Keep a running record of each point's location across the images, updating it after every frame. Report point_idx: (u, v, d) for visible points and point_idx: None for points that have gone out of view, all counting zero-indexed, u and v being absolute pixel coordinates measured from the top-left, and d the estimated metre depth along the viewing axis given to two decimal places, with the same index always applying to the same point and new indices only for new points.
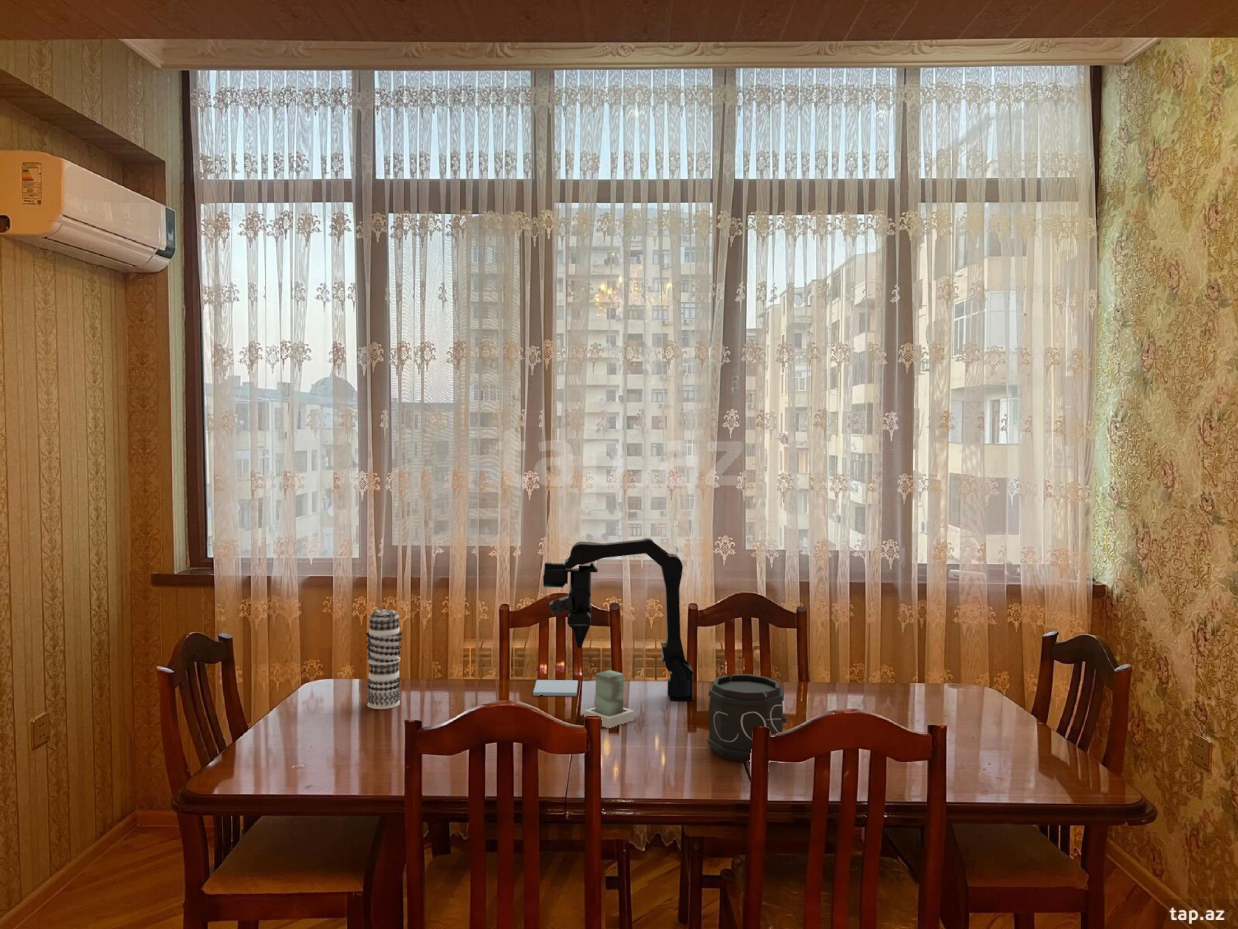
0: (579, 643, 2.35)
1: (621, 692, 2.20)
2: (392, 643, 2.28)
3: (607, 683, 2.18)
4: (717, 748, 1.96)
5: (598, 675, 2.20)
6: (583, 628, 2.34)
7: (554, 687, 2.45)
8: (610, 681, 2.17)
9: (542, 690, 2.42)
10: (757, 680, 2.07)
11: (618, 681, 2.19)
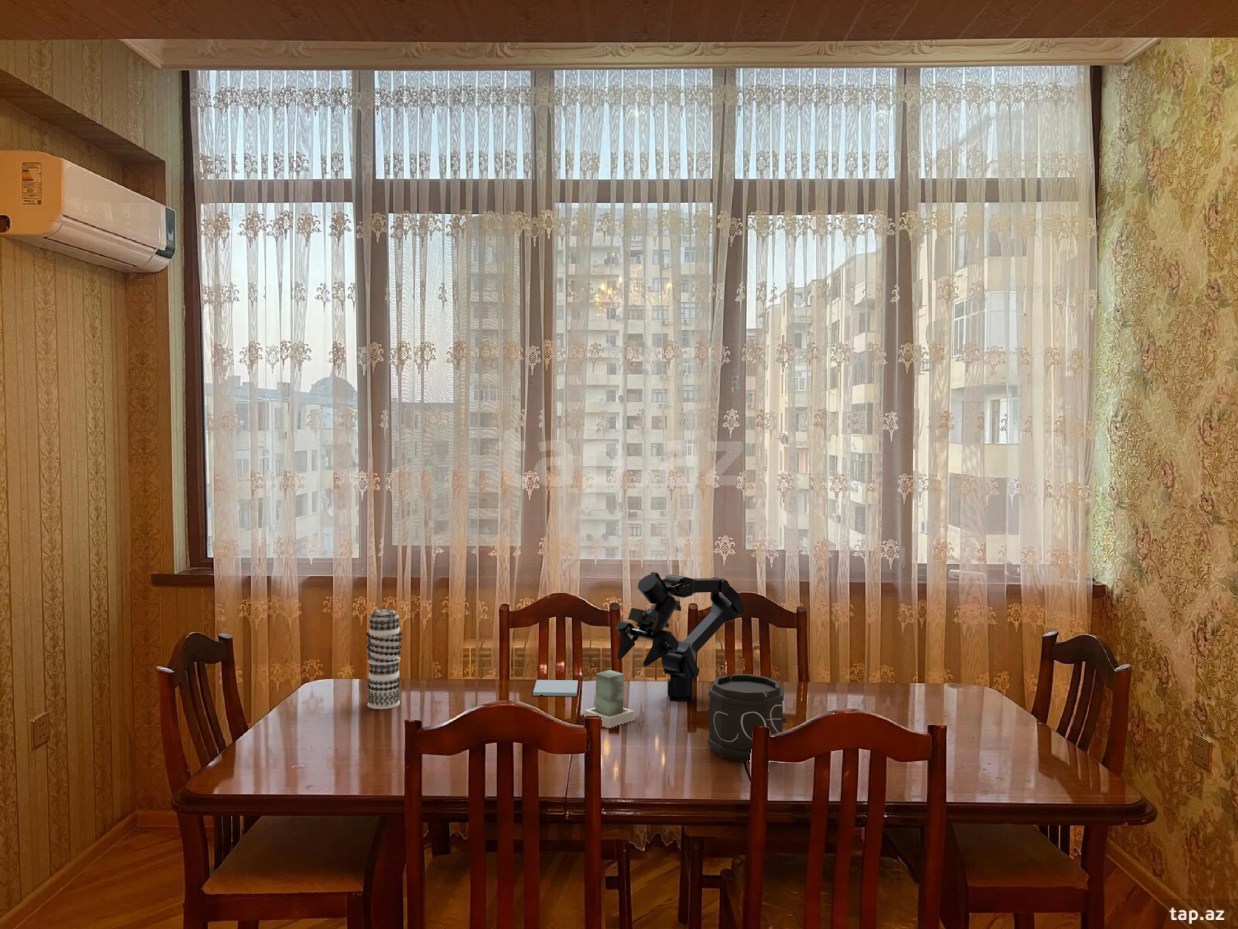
0: (648, 662, 2.24)
1: (621, 692, 2.20)
2: (392, 643, 2.28)
3: (607, 683, 2.18)
4: (717, 748, 1.96)
5: (598, 675, 2.20)
6: (661, 651, 2.25)
7: (554, 687, 2.45)
8: (610, 681, 2.17)
9: (542, 690, 2.42)
10: (757, 680, 2.07)
11: (618, 681, 2.19)
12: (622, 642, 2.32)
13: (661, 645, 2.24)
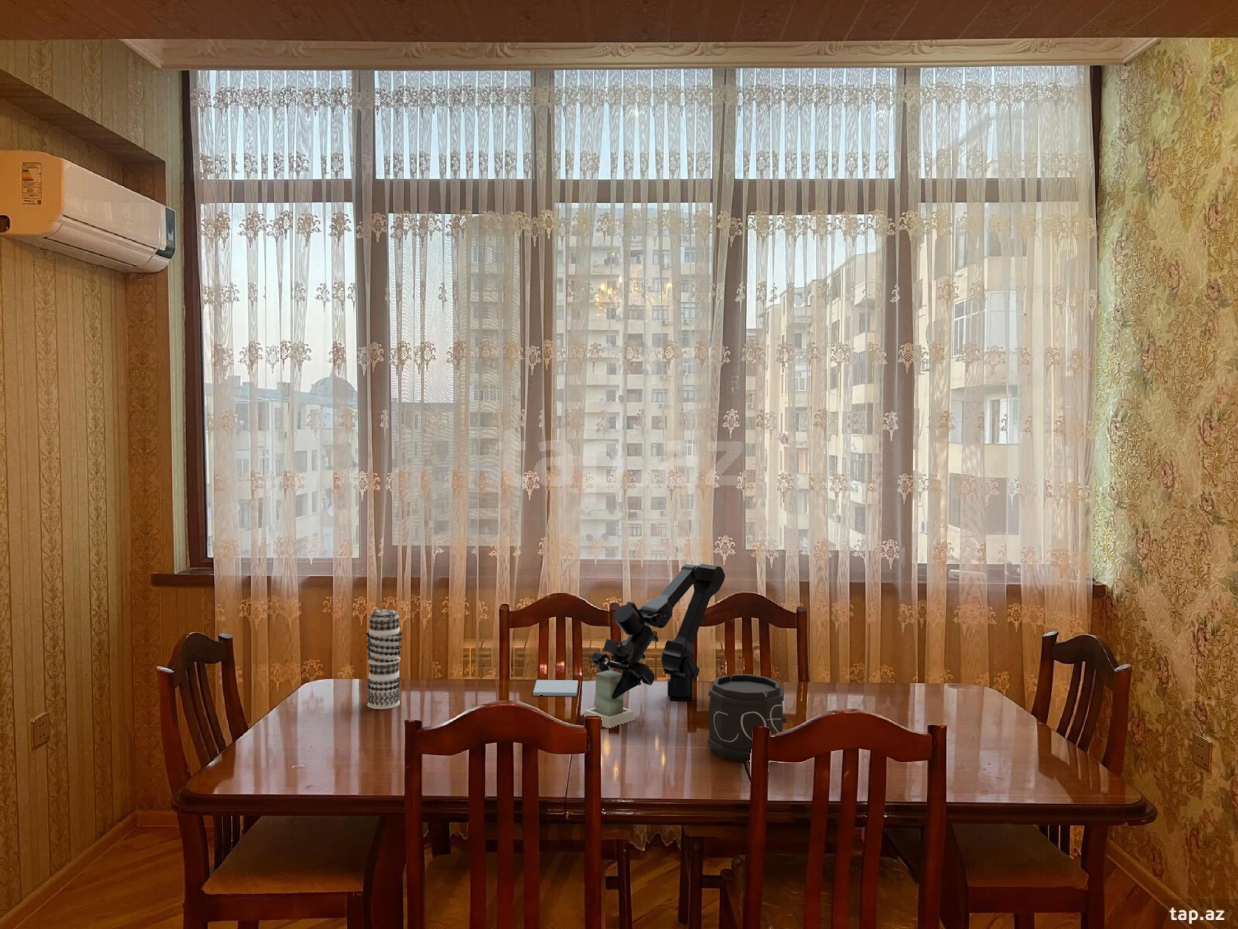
0: (617, 694, 2.18)
1: None
2: (392, 643, 2.28)
3: (607, 683, 2.18)
4: (717, 748, 1.96)
5: (598, 675, 2.20)
6: (630, 683, 2.20)
7: (554, 687, 2.45)
8: (610, 681, 2.17)
9: (542, 690, 2.42)
10: (757, 680, 2.07)
11: (618, 681, 2.19)
12: None
13: (631, 677, 2.19)
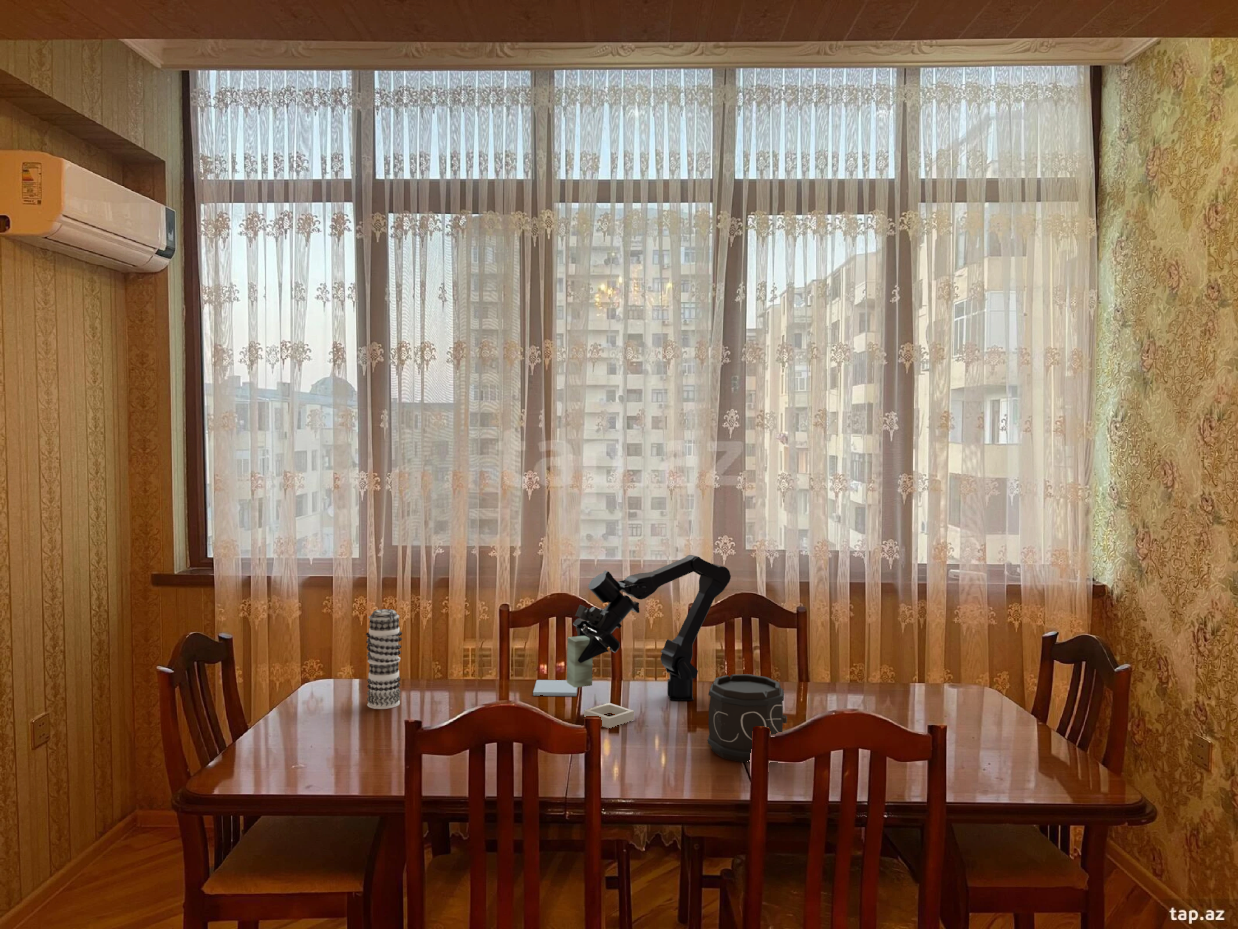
0: (583, 658, 2.24)
1: None
2: (392, 643, 2.28)
3: (574, 647, 2.24)
4: (717, 748, 1.96)
5: (569, 639, 2.27)
6: (598, 649, 2.25)
7: (554, 687, 2.45)
8: (576, 645, 2.24)
9: (542, 690, 2.42)
10: (757, 680, 2.07)
11: (586, 646, 2.25)
12: None
13: (597, 643, 2.24)
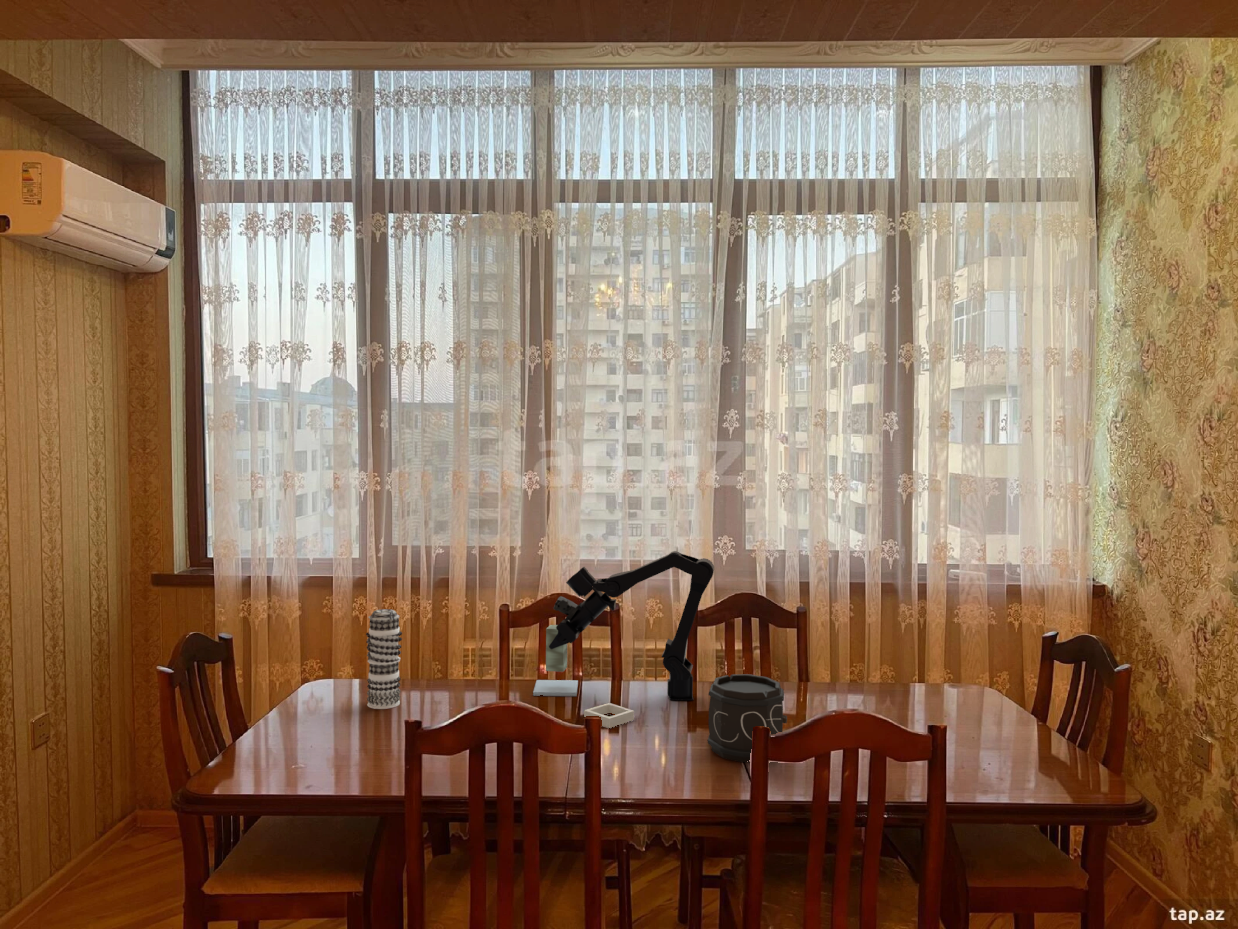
0: (553, 645, 2.43)
1: None
2: (392, 643, 2.28)
3: None
4: (717, 748, 1.96)
5: None
6: (565, 638, 2.42)
7: (554, 687, 2.45)
8: (547, 632, 2.44)
9: (542, 690, 2.42)
10: (757, 680, 2.07)
11: None
12: None
13: None
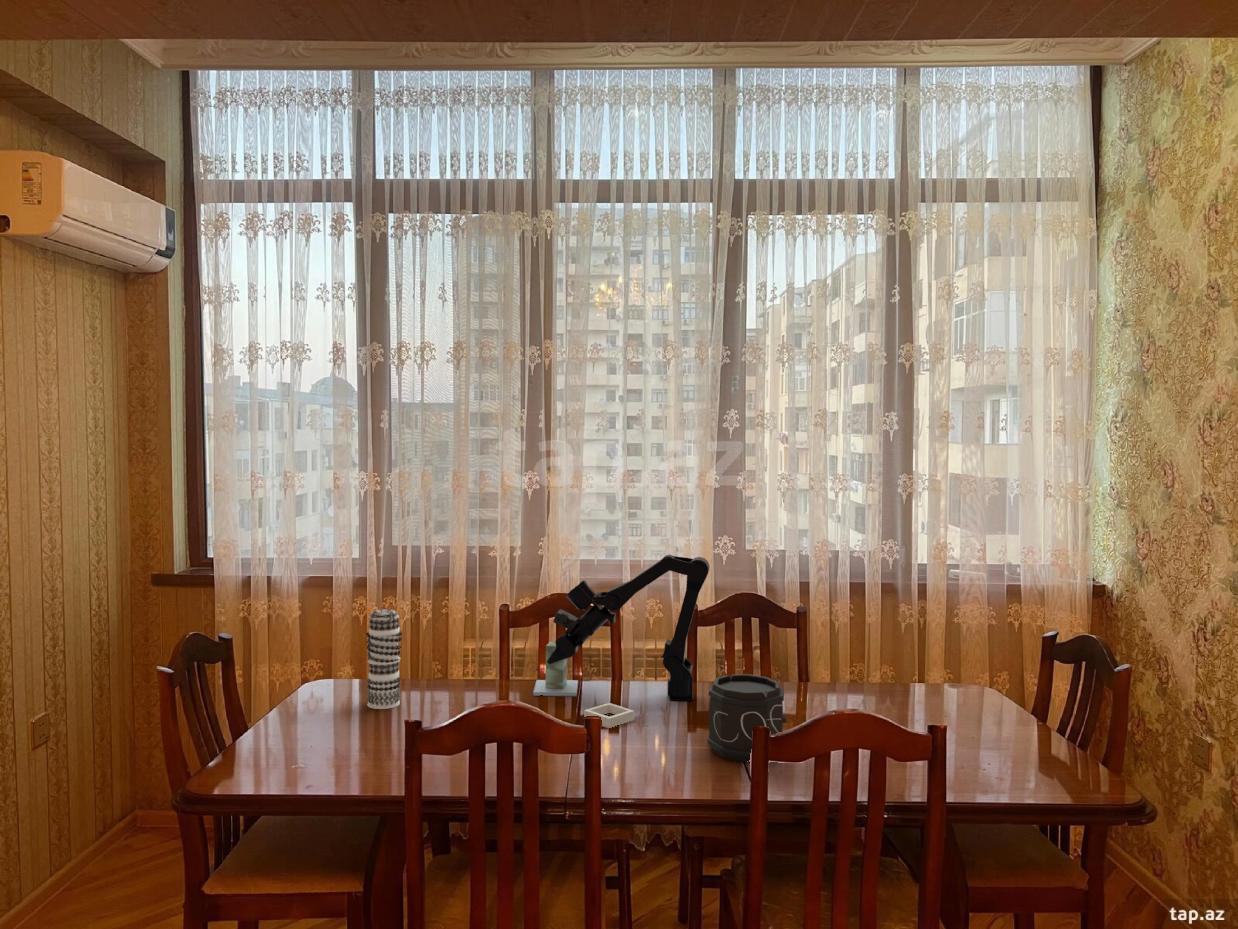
0: (551, 660, 2.41)
1: (560, 663, 2.44)
2: (392, 643, 2.28)
3: None
4: (717, 748, 1.96)
5: None
6: (563, 653, 2.40)
7: None
8: (547, 649, 2.44)
9: (542, 690, 2.42)
10: (757, 680, 2.07)
11: None
12: None
13: None
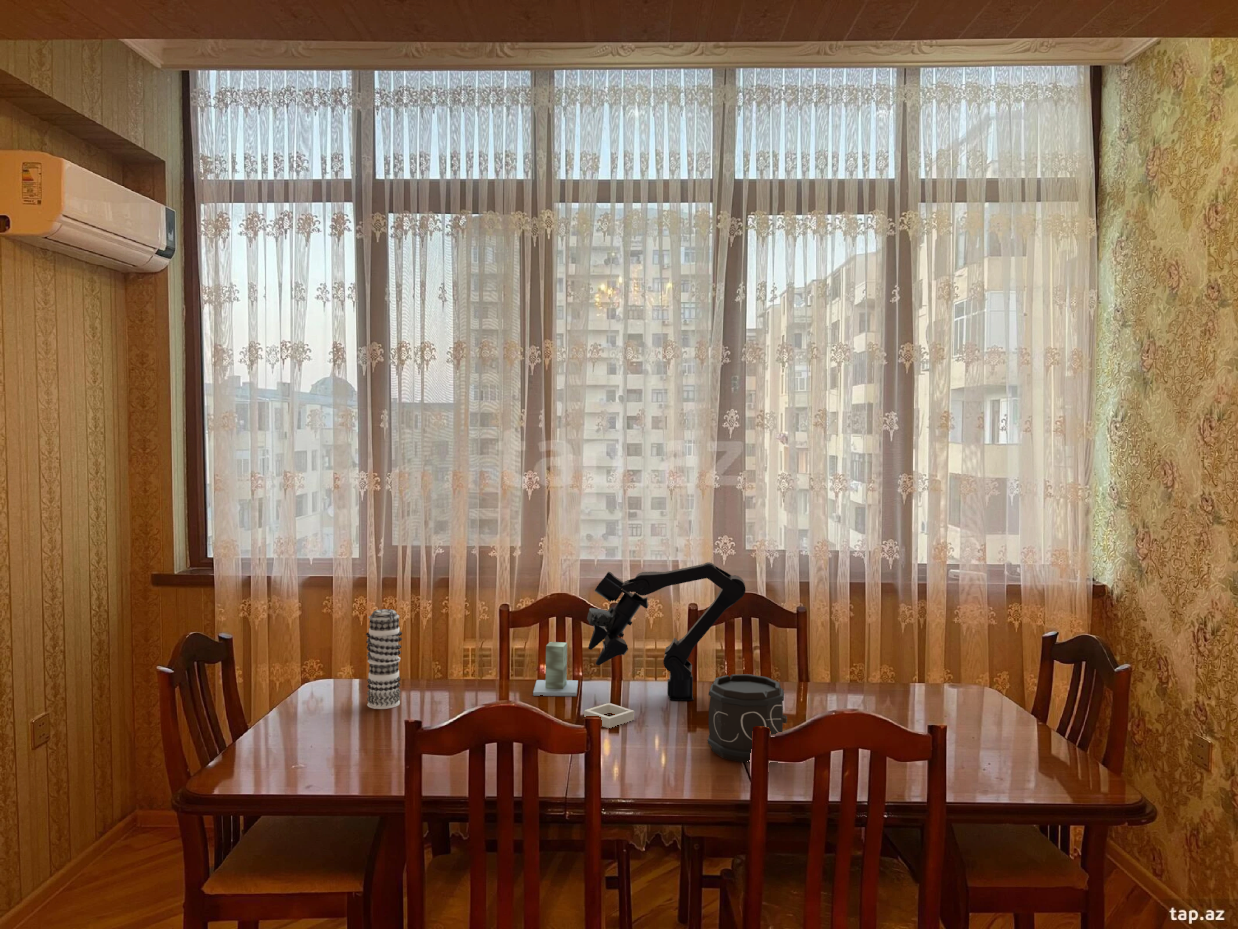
0: (600, 661, 2.39)
1: (560, 663, 2.44)
2: (392, 643, 2.28)
3: None
4: (717, 748, 1.96)
5: None
6: (612, 652, 2.38)
7: None
8: (547, 649, 2.44)
9: (542, 690, 2.42)
10: (757, 680, 2.07)
11: (557, 652, 2.44)
12: (593, 634, 2.48)
13: None
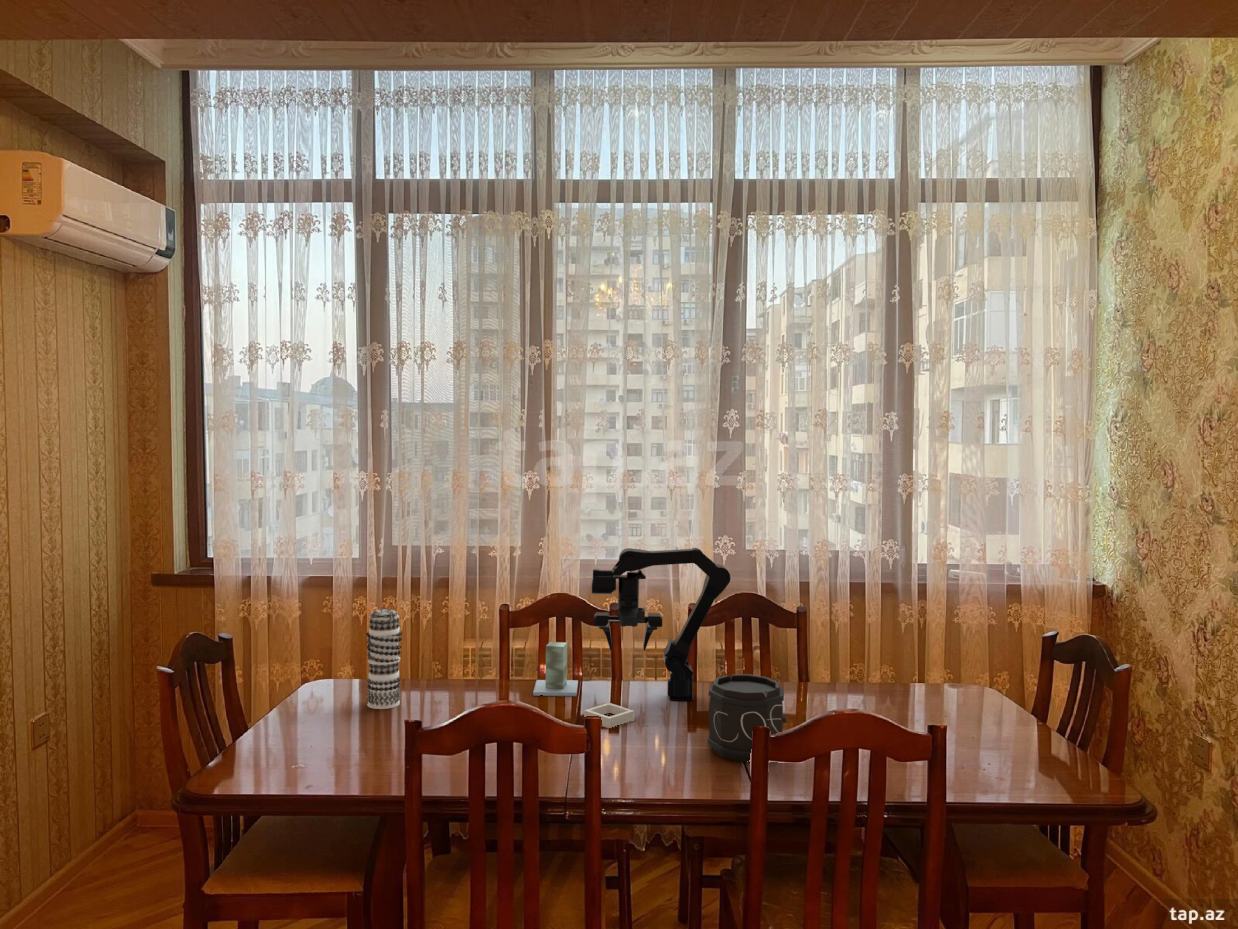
0: (646, 645, 2.41)
1: (560, 663, 2.44)
2: (392, 643, 2.28)
3: None
4: (717, 748, 1.96)
5: None
6: None
7: None
8: (547, 649, 2.44)
9: (542, 690, 2.42)
10: (757, 680, 2.07)
11: (557, 652, 2.44)
12: (608, 635, 2.39)
13: None
